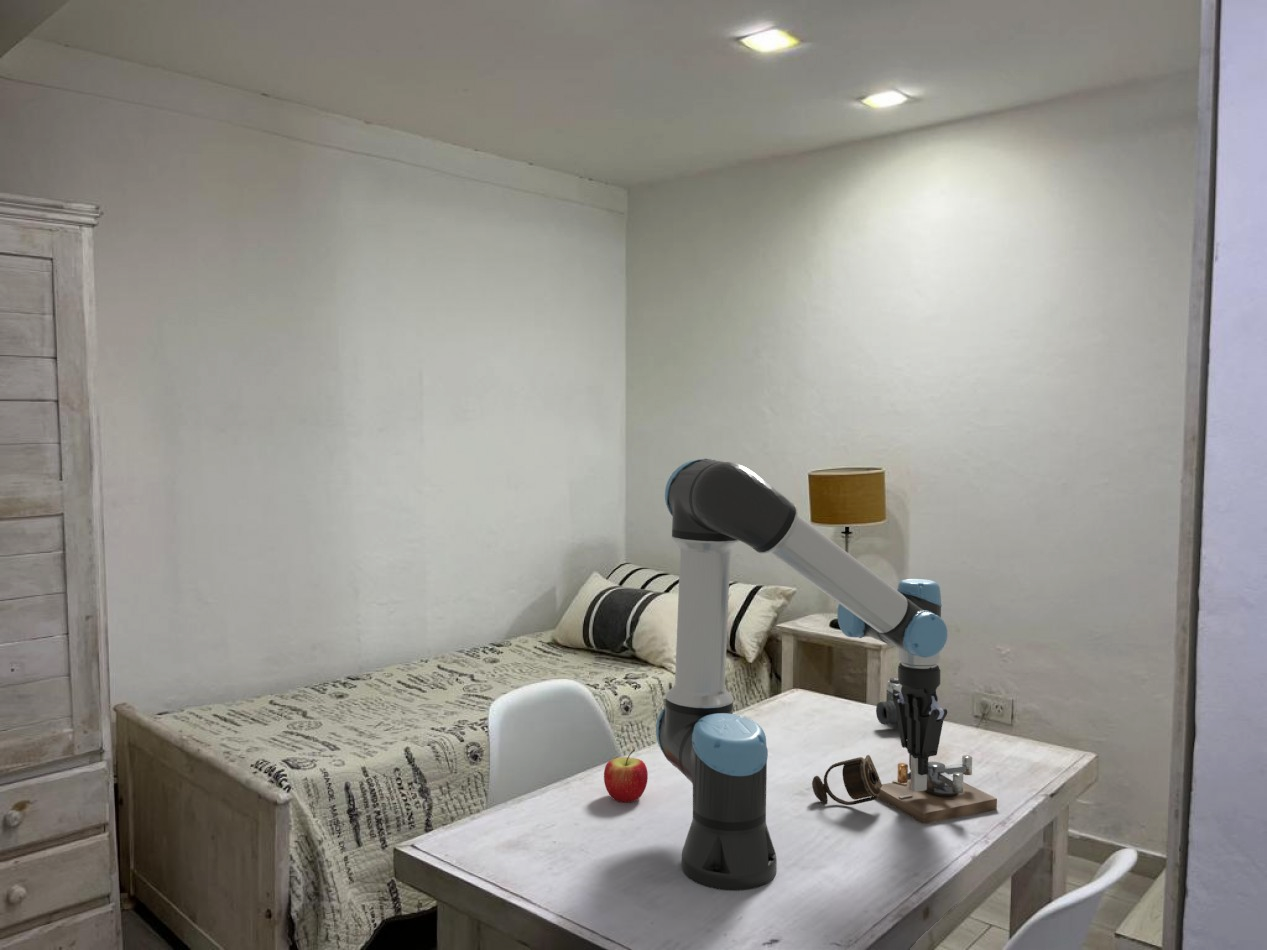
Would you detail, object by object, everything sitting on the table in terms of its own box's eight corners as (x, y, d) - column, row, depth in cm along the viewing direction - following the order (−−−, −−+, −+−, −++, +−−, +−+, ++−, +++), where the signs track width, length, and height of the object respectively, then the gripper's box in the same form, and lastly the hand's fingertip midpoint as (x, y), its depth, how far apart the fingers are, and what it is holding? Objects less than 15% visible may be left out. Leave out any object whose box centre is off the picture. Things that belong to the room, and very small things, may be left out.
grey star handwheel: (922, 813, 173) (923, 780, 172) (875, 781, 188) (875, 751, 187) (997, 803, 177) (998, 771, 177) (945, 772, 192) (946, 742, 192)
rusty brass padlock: (883, 820, 175) (884, 765, 174) (811, 814, 177) (811, 760, 177) (881, 804, 182) (882, 751, 181) (812, 798, 184) (812, 747, 184)
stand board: (923, 824, 173) (923, 811, 173) (873, 795, 186) (873, 783, 186) (996, 809, 180) (997, 797, 179) (943, 782, 193) (944, 770, 192)
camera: (862, 716, 234) (863, 676, 234) (899, 713, 237) (900, 673, 236) (896, 737, 219) (897, 694, 219) (936, 734, 222) (936, 691, 221)
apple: (639, 811, 178) (639, 758, 178) (596, 805, 181) (596, 752, 181) (653, 794, 186) (653, 743, 186) (612, 789, 189) (612, 738, 188)
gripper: (959, 669, 174) (958, 798, 175) (913, 654, 186) (912, 776, 187) (925, 673, 172) (924, 804, 173) (881, 658, 183) (880, 781, 184)
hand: (918, 789), depth 180 cm, fingers closed
